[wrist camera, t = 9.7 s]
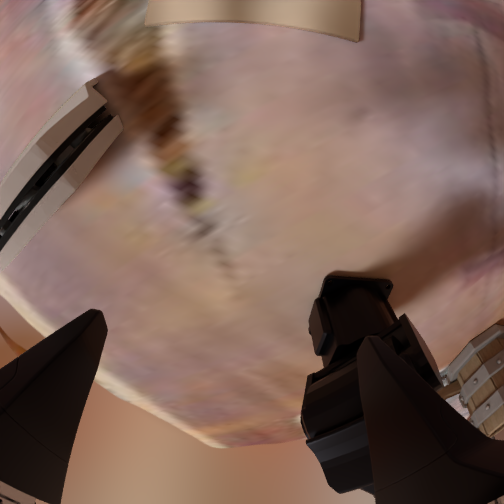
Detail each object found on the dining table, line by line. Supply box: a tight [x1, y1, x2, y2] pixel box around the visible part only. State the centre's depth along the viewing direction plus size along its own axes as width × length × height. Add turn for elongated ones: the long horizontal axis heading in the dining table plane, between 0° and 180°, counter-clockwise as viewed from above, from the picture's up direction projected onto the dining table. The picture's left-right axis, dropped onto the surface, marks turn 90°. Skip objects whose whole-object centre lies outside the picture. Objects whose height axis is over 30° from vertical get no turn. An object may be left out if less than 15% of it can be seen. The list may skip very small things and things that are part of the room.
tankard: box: [437, 324, 504, 438], centre depth 23 cm, size 20×13×15 cm, turn 119°
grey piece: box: [0, 78, 123, 272], centre depth 14 cm, size 17×5×10 cm, turn 116°
